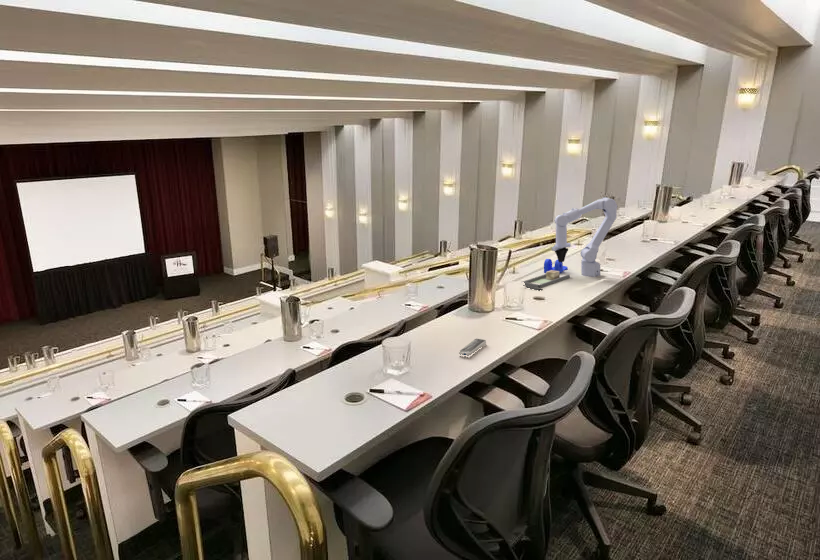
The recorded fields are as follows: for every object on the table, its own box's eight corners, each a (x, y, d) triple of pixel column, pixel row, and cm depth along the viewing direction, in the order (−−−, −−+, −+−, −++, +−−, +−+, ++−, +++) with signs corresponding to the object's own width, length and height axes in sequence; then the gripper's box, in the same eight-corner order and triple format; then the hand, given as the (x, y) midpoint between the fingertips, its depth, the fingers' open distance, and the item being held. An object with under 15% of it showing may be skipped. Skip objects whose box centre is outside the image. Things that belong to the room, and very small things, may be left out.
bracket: (558, 276, 293) (558, 261, 291) (544, 275, 298) (543, 260, 295) (569, 269, 307) (569, 254, 304) (556, 268, 311) (555, 253, 309)
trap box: (569, 280, 283) (569, 274, 283) (539, 290, 267) (539, 285, 266) (551, 277, 292) (551, 272, 291) (521, 287, 276) (521, 282, 275)
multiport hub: (486, 345, 201) (486, 339, 200) (469, 359, 189) (469, 353, 189) (476, 343, 203) (475, 338, 203) (458, 357, 192) (458, 351, 191)
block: (559, 278, 283) (559, 271, 282) (554, 280, 280) (554, 273, 279) (551, 277, 286) (551, 269, 286) (546, 278, 283) (546, 271, 282)
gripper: (562, 234, 290) (562, 258, 293) (546, 238, 281) (547, 263, 284) (573, 235, 285) (573, 259, 288) (558, 239, 276) (558, 264, 279)
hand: (561, 261), depth 286 cm, fingers closed
